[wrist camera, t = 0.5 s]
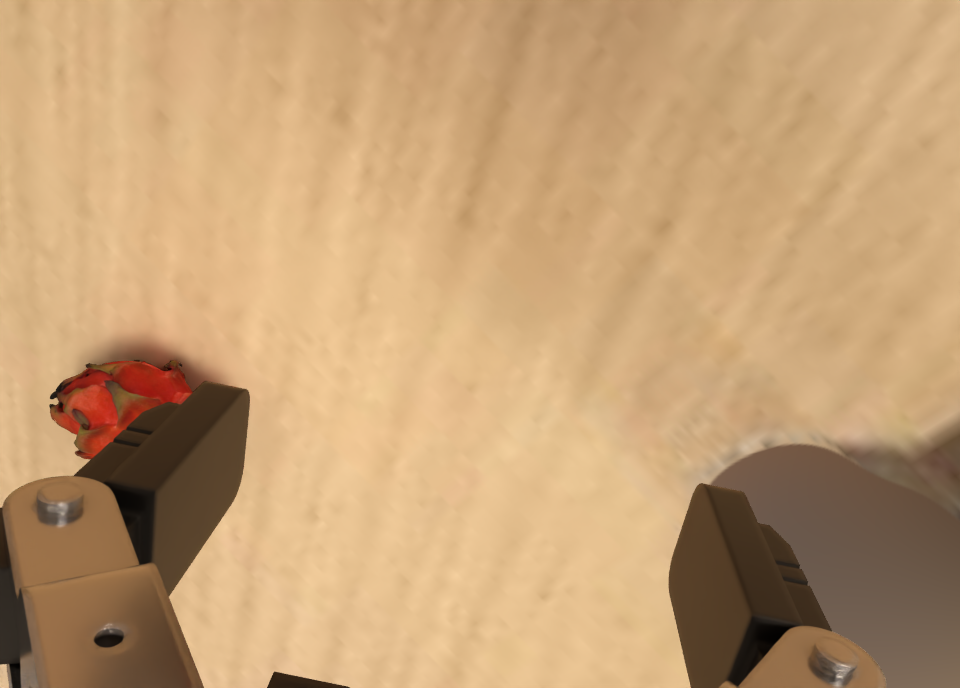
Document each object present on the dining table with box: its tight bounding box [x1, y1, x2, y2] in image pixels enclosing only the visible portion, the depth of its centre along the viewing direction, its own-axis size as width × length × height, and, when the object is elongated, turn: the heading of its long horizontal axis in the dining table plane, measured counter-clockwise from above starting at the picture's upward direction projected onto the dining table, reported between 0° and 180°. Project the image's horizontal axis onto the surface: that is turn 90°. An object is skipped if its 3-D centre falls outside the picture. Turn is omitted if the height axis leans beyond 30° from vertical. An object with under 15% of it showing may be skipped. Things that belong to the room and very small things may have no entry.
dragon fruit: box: [49, 360, 193, 459], centre depth 53 cm, size 8×8×12 cm
